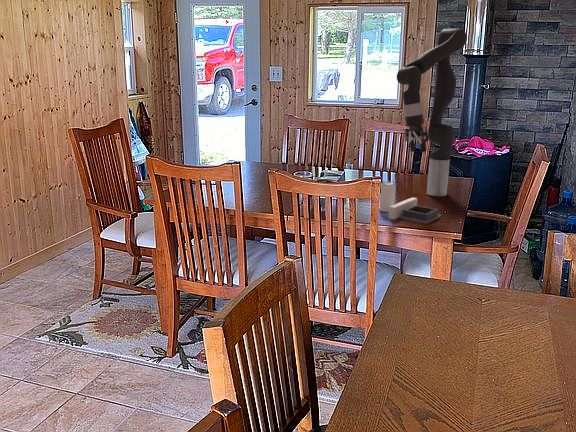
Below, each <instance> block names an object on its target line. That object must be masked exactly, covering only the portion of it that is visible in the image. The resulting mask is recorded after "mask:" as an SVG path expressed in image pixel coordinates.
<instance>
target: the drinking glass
mask: <svg viewBox="0 0 576 432" xmlns="http://www.w3.org/2000/svg"><path fill="white" fill-rule="evenodd" d="M316 180H317V181H326V182H334V183H335V181H333V180H331V179H325V178H322V179H321V178H317V179H316ZM310 201H311V209H312V208H313V199H312V197H311V196H310ZM321 207H322V209H324V208H325V199H324V198H321Z"/></svg>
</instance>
